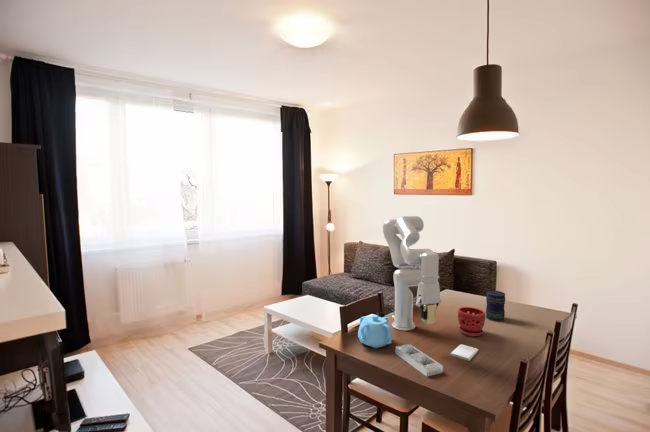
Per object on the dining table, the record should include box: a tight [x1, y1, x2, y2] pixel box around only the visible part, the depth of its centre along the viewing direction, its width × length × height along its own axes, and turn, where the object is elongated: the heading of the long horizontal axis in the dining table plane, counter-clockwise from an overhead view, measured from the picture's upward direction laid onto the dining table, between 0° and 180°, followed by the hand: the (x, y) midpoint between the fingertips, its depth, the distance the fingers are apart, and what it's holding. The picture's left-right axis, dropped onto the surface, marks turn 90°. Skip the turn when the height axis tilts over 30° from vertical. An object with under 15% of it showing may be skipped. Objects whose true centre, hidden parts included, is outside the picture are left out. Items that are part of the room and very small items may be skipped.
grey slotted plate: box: [394, 343, 444, 377], centre depth 154 cm, size 22×8×3 cm, turn 23°
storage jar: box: [485, 290, 506, 323], centre depth 204 cm, size 10×10×15 cm
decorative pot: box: [357, 314, 393, 349], centre depth 173 cm, size 16×16×14 cm
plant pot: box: [457, 306, 486, 337], centre depth 184 cm, size 13×13×12 cm
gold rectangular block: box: [421, 304, 436, 326], centre depth 165 cm, size 4×4×9 cm
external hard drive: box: [450, 344, 479, 362], centre depth 162 cm, size 2×8×12 cm
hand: (428, 317), depth 165 cm, fingers closed on gold rectangular block, 4 cm apart
